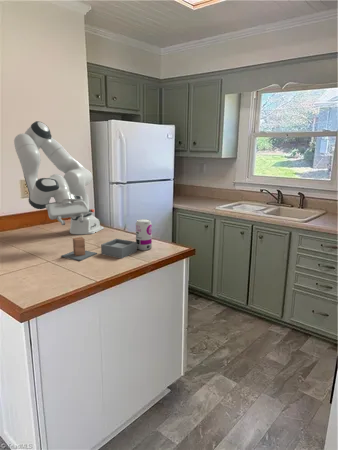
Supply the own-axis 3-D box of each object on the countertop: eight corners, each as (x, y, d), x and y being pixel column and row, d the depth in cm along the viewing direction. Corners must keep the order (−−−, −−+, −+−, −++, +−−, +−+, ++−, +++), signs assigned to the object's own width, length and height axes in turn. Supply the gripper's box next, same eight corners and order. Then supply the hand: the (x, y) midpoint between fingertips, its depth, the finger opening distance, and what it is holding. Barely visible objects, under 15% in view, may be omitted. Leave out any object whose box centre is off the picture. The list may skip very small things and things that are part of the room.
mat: (78, 250, 171) (78, 249, 171) (96, 253, 166) (96, 252, 166) (61, 256, 161) (61, 255, 161) (80, 260, 156) (80, 259, 155)
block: (73, 253, 164) (72, 238, 162) (82, 252, 166) (81, 236, 164) (76, 256, 160) (75, 240, 158) (85, 254, 163) (84, 239, 161)
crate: (116, 248, 176) (116, 238, 175) (136, 252, 171) (136, 241, 169) (101, 255, 165) (101, 244, 164) (122, 259, 160) (121, 248, 158)
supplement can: (154, 247, 178) (154, 219, 175) (146, 251, 171) (146, 223, 167) (141, 245, 181) (140, 218, 178) (133, 249, 174) (132, 221, 171)
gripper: (45, 199, 164) (53, 222, 159) (84, 196, 176) (93, 217, 171) (43, 207, 169) (51, 229, 163) (81, 203, 180) (90, 224, 175)
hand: (73, 223), depth 167 cm, fingers open, 8 cm apart
